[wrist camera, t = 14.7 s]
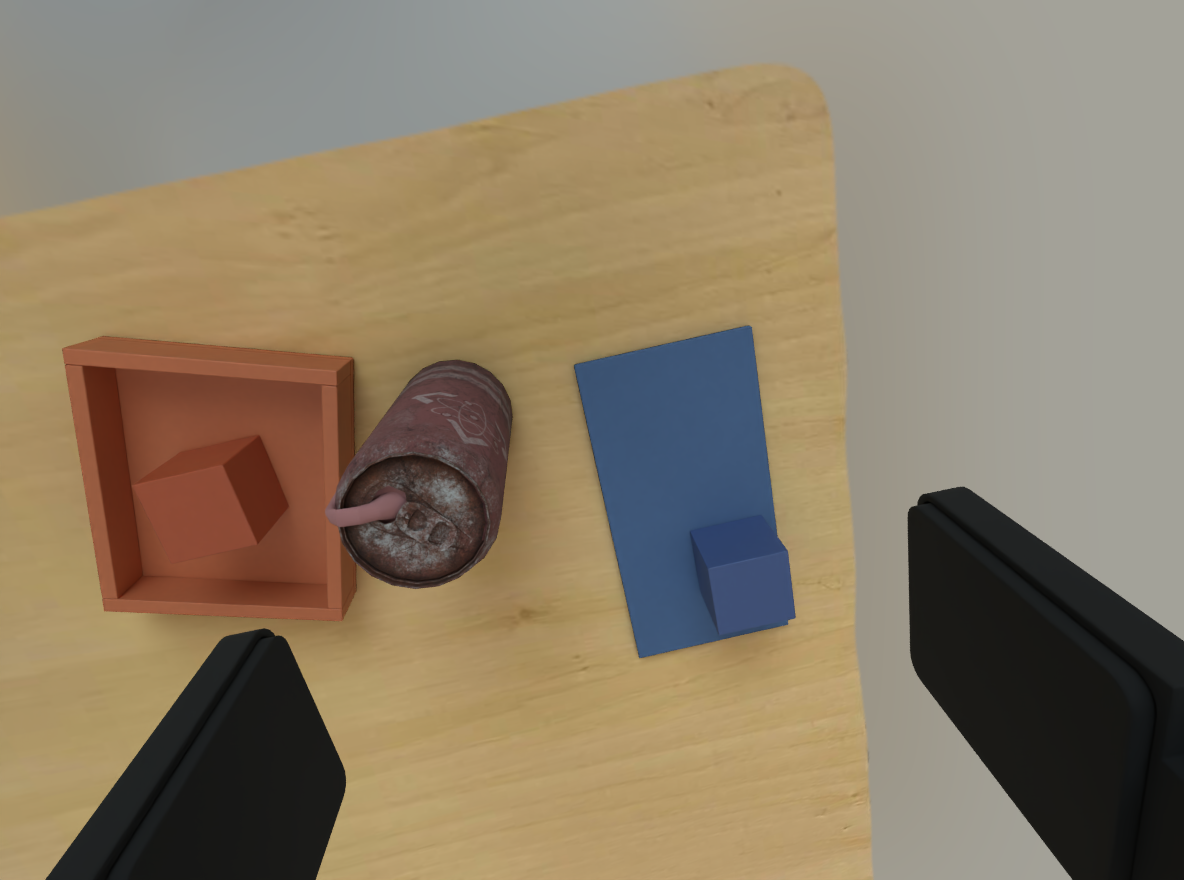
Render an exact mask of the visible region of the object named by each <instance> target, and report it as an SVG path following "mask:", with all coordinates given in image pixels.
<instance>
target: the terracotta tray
mask: <svg viewBox="0 0 1184 880" xmlns="http://www.w3.org/2000/svg"><path fill="white" fill-rule="evenodd" d="M62 351H63V357H64V363H65V364H66V365H65V369H66V376H67V382H68V388H69V394H70V400H71V407H72V413H73V419H74V425H75V432H76V438H77V444H78V450H79V456H80V463H81V469H82V475H83V481H84V487H85V494H86V500H87V506H88V512H89V518H90V525H91V531H92V537H93V543H94V550H95V556H96V562H97V568H98V574H99V581H100V587H101V593H102V598H103V599H102V600H103V607H104V611H113V612H137V613H160V614H184V615H208V616H231V617H255V618H278V619H302V620H326V621H342V620H343V618H344V616H345V614H346V612H347V610H348V608H349V606H350V603H351V601H352V599H353V597H354V595H355V593H356V563H355V562H354V561H353V559H352V558H351V556H350V554H349V553H348V551H347V550H346V548H345V547H344V545H343V544H342V541H341V537H340V534H339V530H338V526H336V525H334V524H332V523H330V522H329V520H328V518H327V516H326V514H325V509H326V507H327V506H328V504H329V503H330V501H331V499H332V497H333V496H334V494H335V492H336V488H337V485H338V483H339V481H340V479H341V478H342V476H343V474H344V472H345V470H346V468H347V466H348V465H349V463H350V462H351V460H352V459H353V458H354V381H353V358H352V357H340V356H328V355H317V354H305V353H293V352H282V351H270V350H258V349H247V348H235V347H223V346H212V345H200V344H188V343H177V342H165V341H153V340H142V339H130V338H118V337H106V336H102V337H98V338H95V339H92V340H88V341H85V342H82V343H78V344H75V345H72V346H68V347H65V348H63V349H62ZM255 435H259V436H260V438H261V440H262V442H263V445H264V447H265V450H266V452H267V455H268V457H269V459H270V462H271V464H272V467H273V469H274V471H275V474H276V476H277V479H278V481H279V483H280V486H281V488H282V491H283V493H284V496H285V498H286V500H287V503H288V505H289V507H288V509H287V510H286V511H285V512H284V514H283V515H282V516H281V517H280V518H279V520H278V521H277V522H276V523H275V524H274V526H273V527H272V528H271V529H270V530H269V532H268V533H267V534H266V535H265V537H264V538H263V539H262V540H261V541H260V543H259V544H258V545H255V546H250V547H246V548H241V549H237V550H232V551H228V552H224V553H219V554H215V555H210V556H206V557H201V558H197V559H193V560H188V561H184V562H179V563H175V564H171V563H170V561H169V559H168V557H167V555H166V553H165V551H164V549H163V547H162V545H161V543H160V541H159V539H158V537H157V535H156V533H155V531H154V529H153V527H152V525H151V523H150V521H149V519H148V517H147V515H146V513H145V511H144V509H143V507H142V505H141V503H140V501H139V499H138V497H137V495H136V493H135V491H134V489H133V487H132V485H133V484H135V483H136V482H137V481H139V480H140V479H142V478H143V477H145V476H146V475H148V474H149V473H151V472H152V471H153V470H155V469H156V468H158V467H159V466H161V465H162V464H164V463H165V462H167V461H168V460H169V459H171V458H172V457H174V456H175V455H177V454H178V453H180V452H184V451H188V450H193V449H197V448H202V447H206V446H211V445H215V444H219V443H224V442H228V441H233V440H237V439H242V438H246V437H251V436H255Z"/></svg>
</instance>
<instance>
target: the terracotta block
mask: <svg viewBox="0 0 1184 880" xmlns="http://www.w3.org/2000/svg"><path fill="white" fill-rule="evenodd" d="M132 487H133V489H134V491H135V493H136V495H137V497H138V499H139V501H140V503H141V505H142V507H143V509H144V511H145V513H146V515H147V517H148V519H149V521H150V523H151V525H152V527H153V529H154V531H155V533H156V535H157V537H158V539H159V541H160V543H161V545H162V547H163V549H164V551H165V553H166V555H167V557H168V559H169V561H170V563H171V564H175V563H179V562H184V561H188V560H193V559H197V558H201V557H206V556H210V555H215V554H219V553H224V552H228V551H232V550H237V549H241V548H246V547H250V546H255V545H258V544H259V543H260V541H261V540H262V539H263V538H264V537H265V535H266V534H267V533H268V532H269V530H270V529H271V528H272V527H273V526H274V524H275V523H276V522H277V521H278V520H279V518H280V517H281V516H282V515H283V514H284V512H285V511H286V510H287V509H288V507H289V505H288V503H287V500H286V498H285V496H284V493H283V491H282V488H281V486H280V483H279V481H278V479H277V476H276V474H275V471H274V469H273V467H272V464H271V462H270V459H269V457H268V455H267V452H266V450H265V447H264V445H263V442H262V440H261V438H260V436H259V435H255V436H251V437H246V438H242V439H237V440H233V441H228V442H224V443H219V444H215V445H211V446H206V447H202V448H197V449H193V450H188V451H184V452H180V453H178V454H177V455H175V456H174V457H172V458H171V459H169V460H168V461H167V462H165V463H164V464H162V465H161V466H159V467H158V468H156V469H155V470H153V471H152V472H151V473H149V474H148V475H146V476H145V477H143V478H142V479H140V480H139V481H137V482H136V483H135V484H133V485H132Z"/></svg>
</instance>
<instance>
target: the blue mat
mask: <svg viewBox="0 0 1184 880" xmlns="http://www.w3.org/2000/svg"><path fill="white" fill-rule="evenodd" d="M574 368H575V373H576V377H577V382H578V386H579V391H580V395H581V400H582V404H583V409H584V413H585V417H586V422H587V426H588V431H589V435H590V440H591V444H592V449H593V453H594V458H595V462H596V467H597V471H598V475H599V480H600V484H601V489H602V493H603V498H604V502H605V507H606V511H607V516H608V520H609V525H610V529H611V533H612V538H613V542H614V547H615V551H616V556H617V560H618V565H619V569H620V574H621V578H622V583H623V587H624V591H625V596H626V600H627V605H628V609H629V614H630V618H631V623H632V627H633V632H634V636H635V641H636V645H637V649H638V654H639V658H643V657H647V656H651V655H656V654H660V653H665V652H669V651H674V650H678V649H682V648H687V647H691V646H696V645H700V644H704V643H709V642H713V641H718V640H722V639H727V638H731V637H735V636H740V635H744V634H749V633H753V632H757V631H762V630H766V629H771V628H775V627H780V626H784V625H788V620H785V621H781V622H777V623H772V624H768V625H763V626H759V627H755V628H750V629H746V630H741V631H737V632H732V633H728V634H724V635H719V634H718V632H717V630H716V627H715V625H714V623H713V620H712V618H711V616H710V613H709V611H708V608H707V606H706V604H705V601H704V599H703V597H702V594H701V592H700V587H699V581H698V575H697V570H696V564H695V558H694V553H693V547H692V541H691V535H690V531H691V530H695V529H700V528H704V527H709V526H713V525H718V524H722V523H726V522H731V521H735V520H740V519H744V518H749V517H753V516H757V515H762V516H763V518H764V519H765V520H766V522H767V523H768V525H769V526H770V527H771V529H772V530H773V531H774V533H775V534H776V536H777V529H776V521H775V513H774V505H773V497H772V488H771V480H770V472H769V464H768V456H767V448H766V440H765V432H764V423H763V415H762V407H761V399H760V391H759V383H758V375H757V366H756V358H755V350H754V342H753V334H752V327H751V326H744V327H740V328H735V329H731V330H726V331H722V332H717V333H713V334H708V335H704V336H699V337H695V338H691V339H686V340H682V341H677V342H673V343H668V344H664V345H659V346H655V347H650V348H646V349H642V350H637V351H633V352H628V353H624V354H619V355H615V356H610V357H606V358H601V359H597V360H593V361H588V362H584V363H579V364H575V365H574Z"/></svg>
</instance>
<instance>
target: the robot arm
mask: <svg viewBox="0 0 1184 880" xmlns="http://www.w3.org/2000/svg"><path fill="white" fill-rule="evenodd" d="M908 562H909V614H910V653H911V660H912V663H913V666H914V669H915V671H916V673H917V675H918V677H919V678H920V680H921V681H922V683H923V684H924V685H925V687H926V688H927V689H928V690H929V692H930V693H931V694H932V696H933V697H934V698H935V700H936V701H937V702H938V704H939V705H940V706H941V707H942V709H943V710H944V712H945V713H946V714H947V715H948V717H949V718H950V719H951V721H952V722H953V723H954V725H955V726H956V727H957V729H958V730H959V731H960V732H961V734H962V735H963V736H964V738H965V739H966V740H967V742H968V743H969V744H970V746H971V747H972V748H973V750H974V751H975V752H976V754H977V755H978V756H979V757H980V759H981V760H982V761H983V763H984V764H985V765H986V767H987V768H988V769H989V771H990V772H991V773H992V775H993V776H994V777H995V778H996V780H997V781H998V782H999V784H1000V785H1001V786H1002V788H1003V789H1004V790H1005V792H1006V793H1007V794H1008V796H1009V797H1010V798H1011V800H1012V801H1013V802H1014V803H1015V805H1016V806H1017V807H1018V809H1019V810H1020V811H1021V813H1022V814H1023V815H1024V817H1025V818H1026V819H1027V821H1028V822H1029V823H1030V824H1031V826H1032V827H1033V828H1034V830H1035V831H1036V832H1037V834H1038V835H1039V836H1040V838H1041V839H1042V840H1043V841H1044V843H1045V844H1046V845H1047V847H1048V848H1049V849H1050V851H1051V852H1052V853H1053V855H1054V856H1055V857H1056V858H1057V860H1058V861H1059V862H1060V864H1061V865H1062V866H1063V868H1064V869H1065V870H1066V872H1067V873H1068V874H1069V876H1070V877H1071V878H1072V880H1184V641H1183V640H1181V639H1180V638H1179V637H1177V636H1176V635H1174V634H1173V633H1172V632H1170V631H1169V630H1167V629H1166V628H1164V627H1163V626H1162V625H1160V624H1159V623H1157V622H1156V621H1155V620H1153V619H1152V618H1150V617H1149V616H1148V615H1146V614H1145V613H1143V612H1142V611H1140V610H1139V609H1138V608H1136V607H1135V606H1133V605H1132V604H1131V603H1129V602H1128V601H1126V600H1125V599H1124V598H1122V597H1121V596H1119V595H1118V594H1116V593H1115V592H1114V591H1112V590H1111V589H1109V588H1108V587H1107V586H1105V585H1104V584H1102V583H1101V582H1099V581H1098V580H1097V579H1095V578H1094V577H1092V576H1091V575H1090V574H1088V573H1087V572H1085V571H1084V570H1082V569H1081V568H1080V567H1078V566H1077V565H1075V564H1074V563H1073V562H1071V561H1070V560H1068V559H1067V558H1066V557H1064V556H1063V555H1061V554H1060V553H1059V552H1057V551H1055V550H1054V549H1053V548H1051V547H1050V546H1049V545H1047V544H1046V543H1044V542H1043V541H1042V540H1040V539H1039V538H1037V537H1036V536H1035V535H1033V534H1032V533H1030V532H1028V531H1027V530H1026V529H1024V528H1023V527H1022V526H1020V525H1019V524H1018V523H1016V522H1015V521H1013V520H1012V519H1011V518H1009V517H1008V516H1006V515H1005V514H1003V513H1002V512H1000V511H999V510H998V509H996V508H995V507H993V506H992V505H991V504H989V503H988V502H986V501H985V500H984V499H982V498H981V497H979V496H978V495H977V494H975V493H973V492H972V491H971V490H970V489H968V488H965V487H956V488H951V489H947V490H942V491H937V492H932V493H927V494H923V495H922V496H920V498H919V500H918V505H917V506H914V507H911V508H910V509H909V512H908ZM345 787H346V775H345V770H344V767H343V764H342V762H341V760H340V758H339V755H338V753H337V751H336V749H335V746H334V744H333V742H332V740H331V738H330V735H329V733H328V731H327V729H326V727H325V724H324V722H323V720H322V718H321V715H320V713H319V711H318V709H317V707H316V704H315V702H314V700H313V698H312V695H311V693H310V691H309V689H308V687H307V684H306V682H305V680H304V678H303V675H302V673H301V671H300V669H299V667H298V664H297V662H296V660H295V658H294V655H293V653H292V651H291V649H290V647H289V644H288V642H287V641H286V639H285V638H284V637H282V636H275V635H274V633H273V632H271V631H270V630H269V629H265V628H264V629H259V630H254V631H249V632H244V633H239V634H234V635H229V636H226V637H224V638H223V639H222V640H221V641H220V642H219V643H218V644H217V645H216V647H215V648H214V649H213V651H212V652H211V654H210V655H209V656H208V658H207V659H206V660H205V662H204V663H203V665H202V666H201V667H200V669H199V670H198V671H197V673H196V674H195V676H194V677H193V678H192V680H191V681H190V682H189V684H188V685H187V686H186V688H185V689H184V691H183V692H182V693H181V695H180V696H179V697H178V699H177V700H176V702H175V703H174V704H173V706H172V707H171V708H170V710H169V711H168V713H167V714H166V715H165V717H164V718H163V719H162V721H161V722H160V723H159V725H158V726H157V728H156V729H155V730H154V732H153V733H152V734H151V736H150V737H149V739H148V740H147V741H146V743H145V744H144V745H143V747H142V748H141V749H140V751H139V752H138V754H137V755H136V756H135V758H134V759H133V760H132V762H131V763H130V765H129V766H128V767H127V769H126V770H125V771H124V773H123V774H122V776H121V777H120V778H119V780H118V781H117V782H116V784H115V785H114V786H113V788H112V789H111V791H110V792H109V793H108V795H107V796H106V797H105V799H104V800H103V802H102V803H101V804H100V806H99V807H98V808H97V810H96V811H95V813H94V814H93V815H92V817H91V818H90V819H89V821H88V822H87V823H86V825H85V826H84V828H83V829H82V830H81V832H80V833H79V834H78V836H77V837H76V839H75V840H74V841H73V843H72V844H71V845H70V847H69V848H68V849H67V851H66V852H65V854H64V855H63V856H62V858H61V859H60V860H59V862H58V863H57V865H56V866H55V867H54V869H53V870H52V871H51V873H50V874H49V876H48V877H47V878H46V880H316V877H317V874H318V871H319V868H320V865H321V862H322V859H323V856H324V853H325V850H326V847H327V844H328V841H329V838H330V835H331V833H332V830H333V827H334V824H335V821H336V818H337V815H338V812H339V809H340V806H341V803H342V800H343V797H344V793H345Z"/></svg>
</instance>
